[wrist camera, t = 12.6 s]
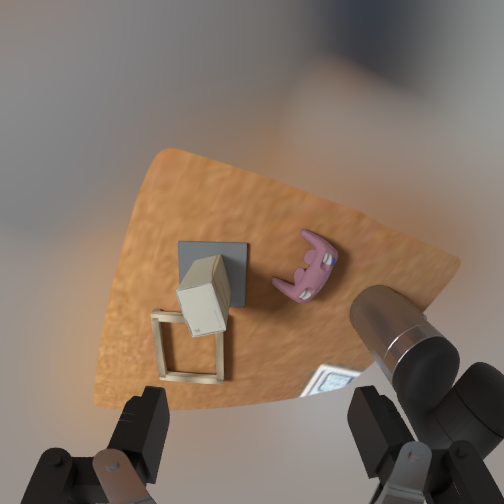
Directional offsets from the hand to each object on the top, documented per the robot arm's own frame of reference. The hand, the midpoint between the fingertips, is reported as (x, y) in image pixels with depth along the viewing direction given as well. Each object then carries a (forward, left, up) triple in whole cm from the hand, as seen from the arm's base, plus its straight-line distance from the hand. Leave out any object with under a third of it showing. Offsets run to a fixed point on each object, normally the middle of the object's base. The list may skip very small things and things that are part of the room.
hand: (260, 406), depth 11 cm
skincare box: (+5, +6, -33) cm, 34 cm away
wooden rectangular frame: (+9, +19, -33) cm, 39 cm away
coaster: (+5, +6, -33) cm, 34 cm away
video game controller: (-8, +4, -33) cm, 35 cm away
